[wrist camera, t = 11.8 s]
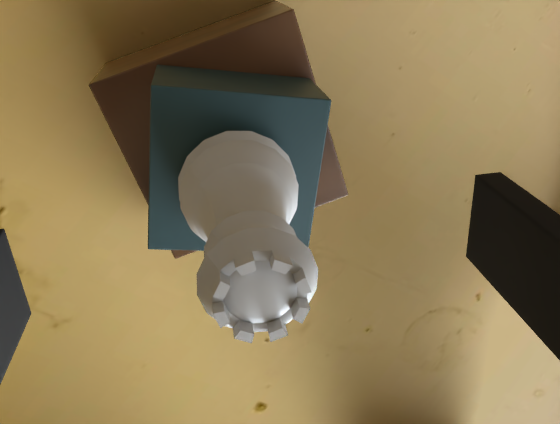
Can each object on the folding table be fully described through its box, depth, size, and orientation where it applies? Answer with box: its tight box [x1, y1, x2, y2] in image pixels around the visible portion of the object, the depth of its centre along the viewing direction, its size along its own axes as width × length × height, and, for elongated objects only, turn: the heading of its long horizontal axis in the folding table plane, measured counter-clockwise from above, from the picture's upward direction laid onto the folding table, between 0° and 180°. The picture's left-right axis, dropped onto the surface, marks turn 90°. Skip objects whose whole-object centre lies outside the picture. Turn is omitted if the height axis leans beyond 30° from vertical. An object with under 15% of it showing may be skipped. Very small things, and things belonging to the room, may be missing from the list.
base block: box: [89, 1, 348, 258], centre depth 26 cm, size 9×9×5 cm
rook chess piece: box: [178, 131, 318, 343], centre depth 17 cm, size 4×4×8 cm
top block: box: [148, 65, 331, 251], centre depth 22 cm, size 6×6×4 cm
